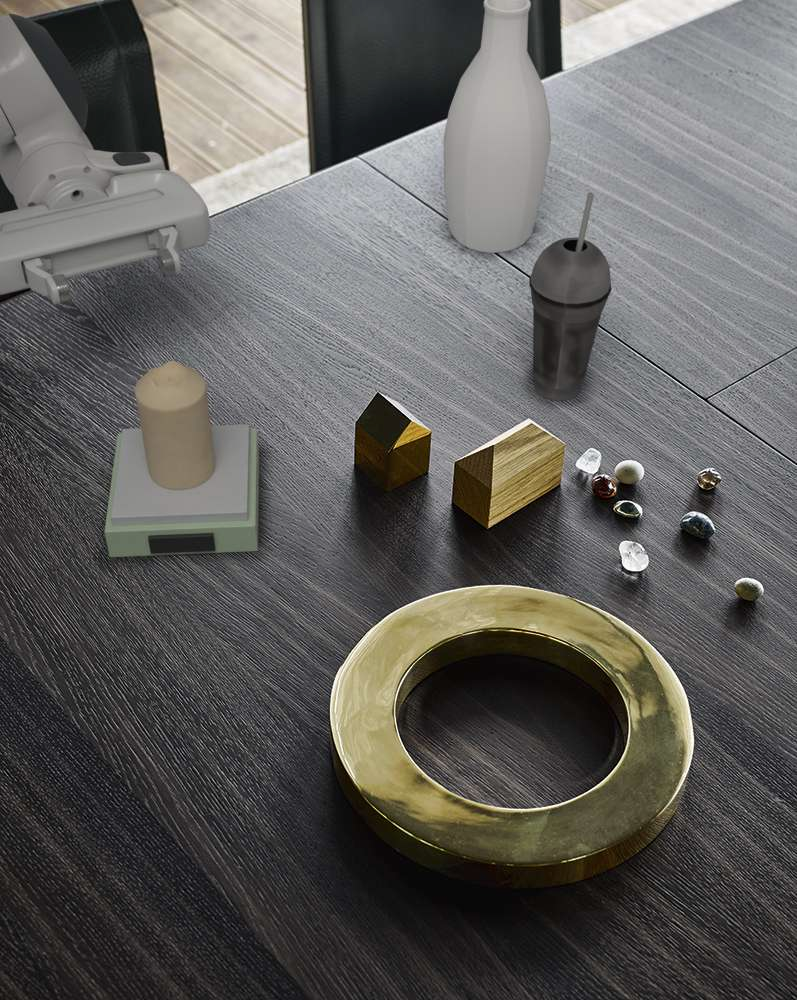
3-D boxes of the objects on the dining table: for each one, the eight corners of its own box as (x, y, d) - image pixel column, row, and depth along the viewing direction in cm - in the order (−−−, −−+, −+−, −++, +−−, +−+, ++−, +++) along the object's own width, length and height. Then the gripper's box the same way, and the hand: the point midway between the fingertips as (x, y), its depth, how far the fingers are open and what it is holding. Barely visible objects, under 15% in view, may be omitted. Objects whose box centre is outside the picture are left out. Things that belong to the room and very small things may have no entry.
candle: (140, 487, 102) (123, 391, 95) (158, 443, 106) (142, 348, 99) (207, 493, 102) (194, 398, 95) (222, 448, 106) (211, 353, 99)
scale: (109, 560, 102) (101, 526, 99) (122, 458, 110) (115, 424, 108) (257, 554, 102) (254, 520, 100) (259, 453, 111) (256, 419, 108)
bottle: (538, 206, 142) (561, -21, 124) (544, 261, 134) (570, 27, 116) (439, 204, 142) (448, -23, 124) (439, 259, 134) (449, 24, 116)
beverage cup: (502, 383, 119) (519, 195, 105) (555, 352, 122) (578, 167, 108) (558, 420, 115) (584, 231, 101) (611, 388, 118) (643, 200, 104)
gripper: (-55, 197, 107) (-16, 280, 98) (174, 147, 114) (229, 221, 105) (-38, 260, 111) (0, 345, 102) (181, 209, 118) (235, 284, 109)
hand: (118, 282), depth 104 cm, fingers open, 8 cm apart
